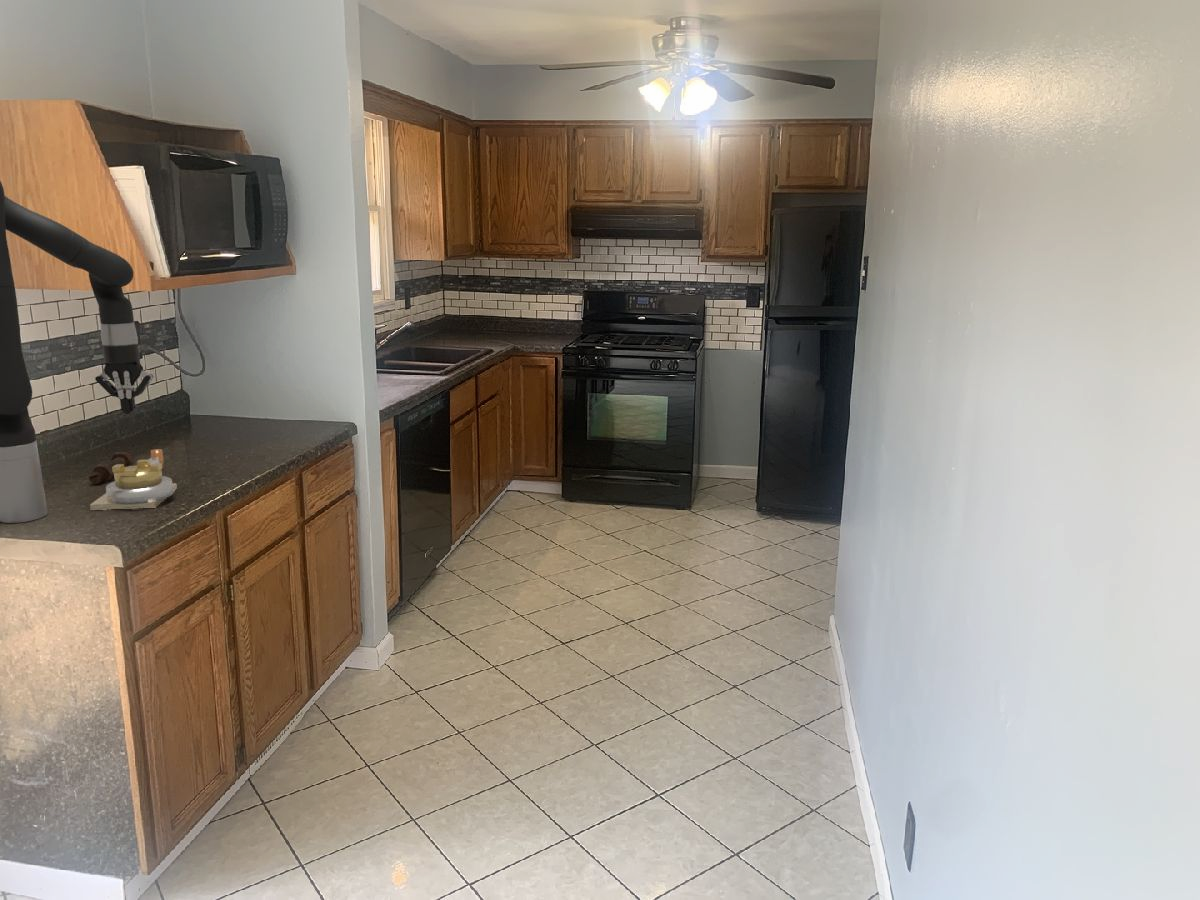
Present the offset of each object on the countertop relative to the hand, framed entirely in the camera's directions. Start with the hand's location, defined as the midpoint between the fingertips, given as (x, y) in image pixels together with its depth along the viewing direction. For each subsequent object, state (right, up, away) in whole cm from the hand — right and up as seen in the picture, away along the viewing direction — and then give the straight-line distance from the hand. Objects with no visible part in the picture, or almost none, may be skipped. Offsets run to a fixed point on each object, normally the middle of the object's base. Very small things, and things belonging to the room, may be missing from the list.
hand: (129, 413), depth 217 cm
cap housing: (+4, -21, -3) cm, 21 cm away
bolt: (-13, -16, +16) cm, 26 cm away
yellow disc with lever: (+5, -15, -1) cm, 16 cm away
